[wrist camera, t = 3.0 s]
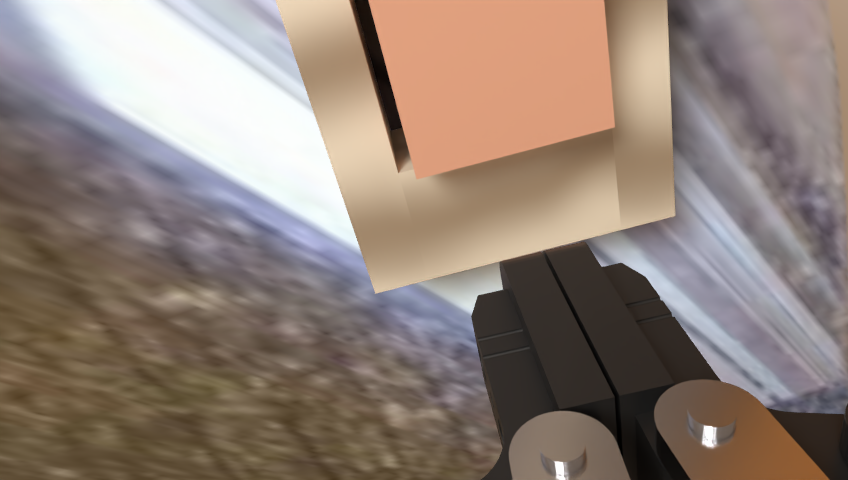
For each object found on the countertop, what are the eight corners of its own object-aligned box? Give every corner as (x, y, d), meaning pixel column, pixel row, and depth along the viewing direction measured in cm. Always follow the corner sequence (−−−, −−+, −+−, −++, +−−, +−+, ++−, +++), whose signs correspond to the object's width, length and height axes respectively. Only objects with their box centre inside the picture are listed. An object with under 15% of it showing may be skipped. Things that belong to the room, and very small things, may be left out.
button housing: (632, 170, 33) (675, 216, 29) (371, 239, 34) (375, 293, 30) (596, -320, 23) (653, -362, 19) (223, -215, 24) (196, -233, 19)
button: (581, 94, 27) (615, 127, 24) (407, 140, 28) (416, 179, 24) (558, -103, 24) (595, -98, 20) (357, -48, 24) (359, -34, 20)
